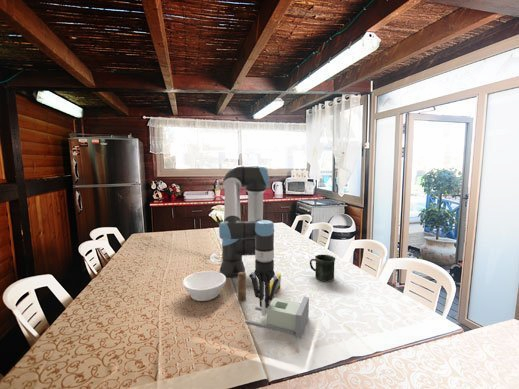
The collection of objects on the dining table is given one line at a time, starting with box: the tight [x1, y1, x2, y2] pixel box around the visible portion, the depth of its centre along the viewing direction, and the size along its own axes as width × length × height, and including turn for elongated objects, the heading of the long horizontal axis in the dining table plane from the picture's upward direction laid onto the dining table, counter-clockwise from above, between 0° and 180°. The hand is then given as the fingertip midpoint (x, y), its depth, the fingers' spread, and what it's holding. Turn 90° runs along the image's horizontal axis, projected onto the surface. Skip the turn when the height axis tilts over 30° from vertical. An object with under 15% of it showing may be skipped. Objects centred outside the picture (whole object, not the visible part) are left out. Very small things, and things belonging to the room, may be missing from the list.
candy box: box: [269, 273, 282, 302], centre depth 127 cm, size 16×2×8 cm, turn 157°
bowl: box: [182, 270, 227, 302], centre depth 128 cm, size 21×21×8 cm
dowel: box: [237, 271, 247, 302], centre depth 121 cm, size 4×4×14 cm
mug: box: [309, 254, 336, 282], centre depth 147 cm, size 11×15×12 cm
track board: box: [244, 295, 310, 339], centre depth 104 cm, size 24×14×10 cm, turn 68°
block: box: [266, 297, 301, 333], centre depth 103 cm, size 12×9×7 cm
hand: (264, 314), depth 106 cm, fingers closed
